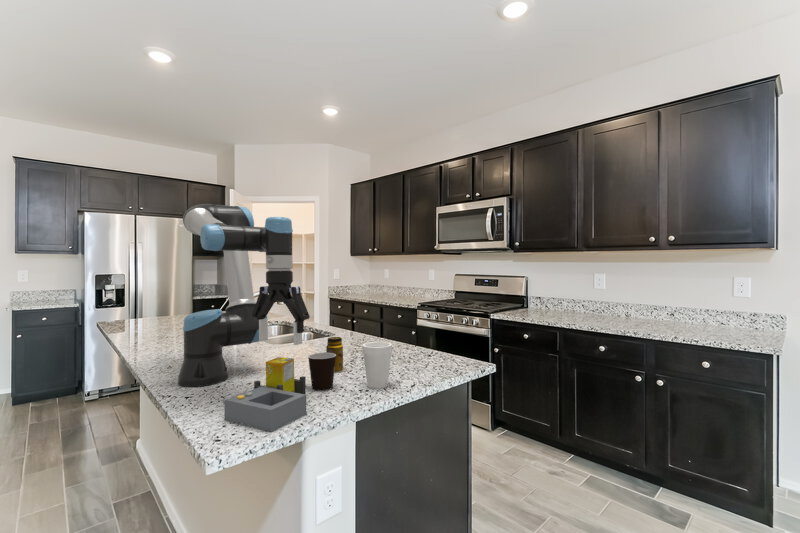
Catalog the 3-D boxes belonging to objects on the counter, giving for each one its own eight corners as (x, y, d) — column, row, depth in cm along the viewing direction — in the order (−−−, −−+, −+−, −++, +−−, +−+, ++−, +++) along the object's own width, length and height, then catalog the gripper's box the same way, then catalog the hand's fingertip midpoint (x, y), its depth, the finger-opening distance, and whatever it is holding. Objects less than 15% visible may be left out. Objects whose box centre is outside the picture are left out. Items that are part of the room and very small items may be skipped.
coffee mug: (330, 392, 118) (329, 359, 118) (303, 390, 119) (303, 358, 119) (343, 381, 129) (343, 351, 129) (319, 380, 131) (318, 350, 131)
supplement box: (277, 392, 118) (277, 356, 118) (295, 394, 116) (294, 358, 116) (265, 399, 112) (265, 361, 112) (283, 401, 110) (282, 362, 110)
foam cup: (356, 385, 124) (356, 345, 124) (377, 379, 131) (377, 340, 131) (377, 392, 118) (377, 349, 118) (398, 385, 124) (398, 344, 124)
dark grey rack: (254, 399, 112) (254, 381, 112) (280, 389, 121) (280, 372, 121) (280, 405, 107) (279, 386, 107) (305, 394, 116) (305, 376, 116)
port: (224, 419, 97) (224, 397, 97) (261, 404, 108) (261, 384, 108) (271, 431, 90) (271, 407, 90) (306, 414, 100) (306, 392, 100)
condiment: (347, 370, 143) (347, 337, 143) (328, 375, 137) (328, 341, 137) (336, 366, 148) (336, 335, 148) (317, 371, 142) (316, 338, 142)
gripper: (239, 270, 117) (240, 341, 116) (303, 269, 105) (304, 348, 105) (258, 270, 123) (259, 337, 123) (321, 269, 112) (322, 343, 111)
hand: (280, 342), depth 114 cm, fingers open, 13 cm apart
